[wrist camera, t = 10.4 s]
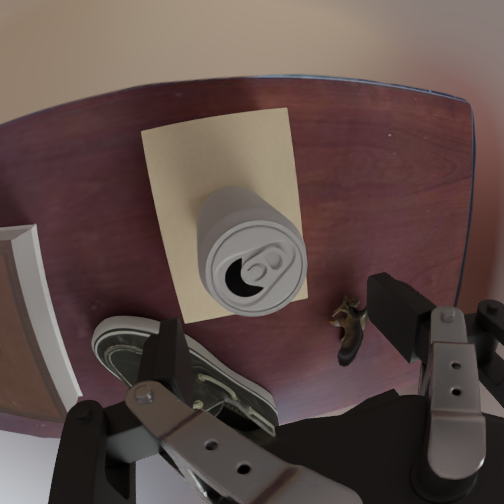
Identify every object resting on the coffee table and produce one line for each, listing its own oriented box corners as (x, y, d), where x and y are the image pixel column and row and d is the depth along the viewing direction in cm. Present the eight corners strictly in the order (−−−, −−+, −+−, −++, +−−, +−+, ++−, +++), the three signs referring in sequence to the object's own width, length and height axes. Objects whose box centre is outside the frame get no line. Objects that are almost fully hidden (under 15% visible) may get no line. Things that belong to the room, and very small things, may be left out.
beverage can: (182, 212, 27) (173, 261, 16) (242, 170, 27) (276, 189, 16) (223, 267, 29) (241, 341, 18) (280, 228, 29) (332, 281, 18)
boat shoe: (118, 289, 37) (99, 332, 28) (294, 388, 47) (312, 432, 38) (85, 344, 38) (65, 390, 29) (251, 425, 48) (262, 469, 39)
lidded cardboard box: (152, 134, 32) (140, 130, 24) (267, 114, 33) (287, 106, 26) (185, 289, 38) (184, 324, 31) (287, 269, 40) (308, 298, 32)
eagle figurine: (308, 312, 41) (324, 365, 43) (352, 316, 35) (365, 374, 37) (339, 286, 45) (353, 336, 47) (381, 286, 40) (392, 341, 41)
